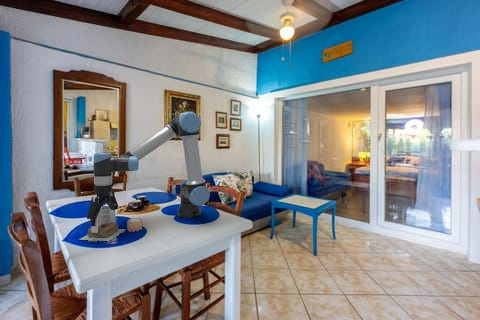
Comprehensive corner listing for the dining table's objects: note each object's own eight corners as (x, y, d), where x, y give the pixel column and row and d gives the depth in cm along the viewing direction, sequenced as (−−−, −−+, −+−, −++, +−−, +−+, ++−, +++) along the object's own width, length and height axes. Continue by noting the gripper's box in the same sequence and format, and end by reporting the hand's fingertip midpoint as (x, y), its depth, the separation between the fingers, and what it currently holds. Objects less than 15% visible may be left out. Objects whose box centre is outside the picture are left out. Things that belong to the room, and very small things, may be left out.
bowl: (144, 227, 121) (144, 218, 121) (138, 232, 114) (138, 222, 114) (131, 226, 121) (131, 217, 121) (124, 231, 114) (124, 222, 114)
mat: (125, 230, 116) (125, 229, 116) (108, 242, 102) (108, 240, 102) (99, 229, 116) (99, 228, 116) (79, 240, 102) (79, 239, 102)
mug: (104, 228, 117) (104, 206, 117) (90, 224, 122) (90, 203, 121) (117, 224, 124) (117, 203, 124) (103, 220, 129) (103, 200, 128)
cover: (117, 230, 113) (117, 221, 113) (106, 238, 104) (106, 228, 104) (100, 230, 114) (100, 221, 113) (88, 237, 105) (88, 227, 104)
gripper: (111, 180, 120) (112, 218, 121) (75, 189, 95) (77, 237, 97) (125, 180, 120) (125, 218, 121) (92, 189, 95) (94, 237, 96)
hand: (104, 227), depth 109 cm, fingers open, 13 cm apart
